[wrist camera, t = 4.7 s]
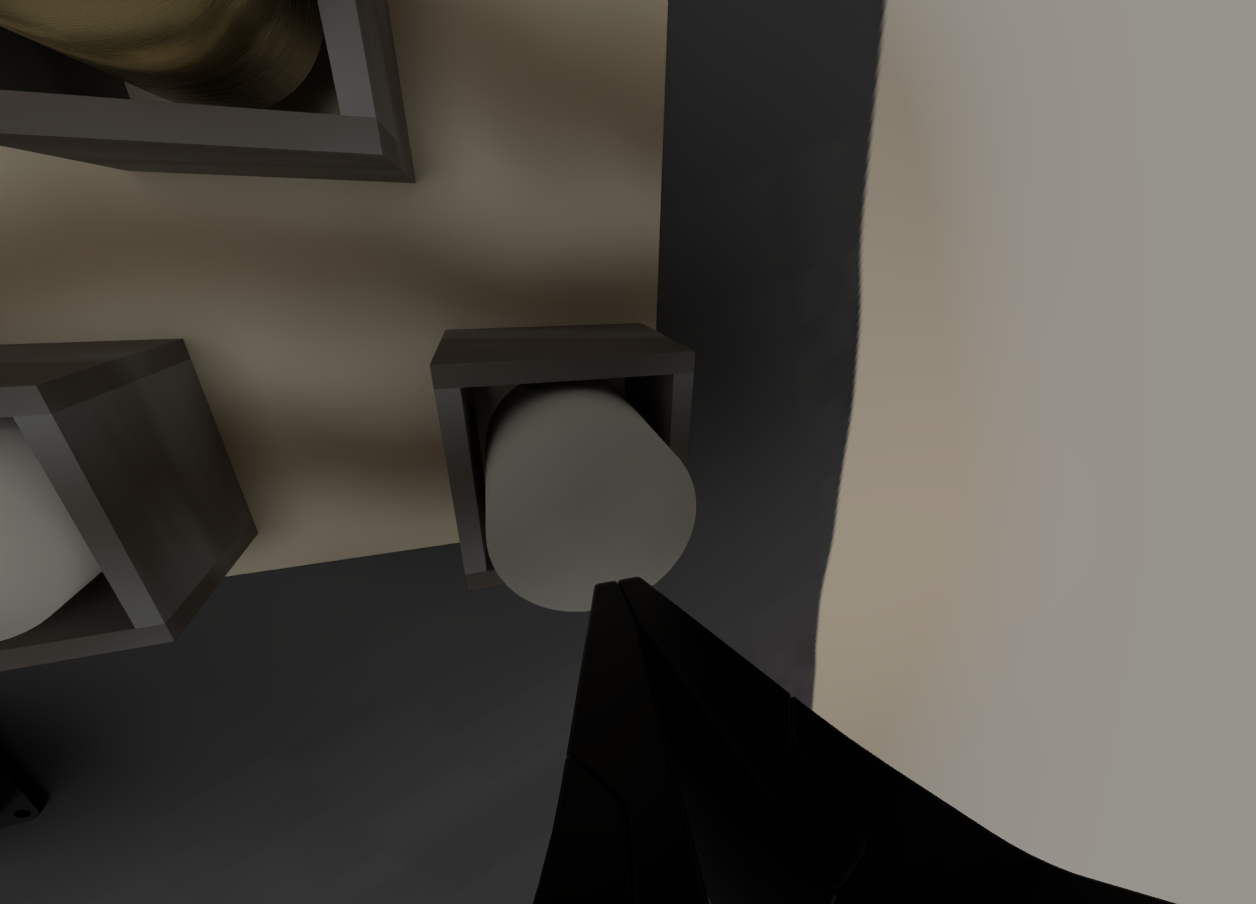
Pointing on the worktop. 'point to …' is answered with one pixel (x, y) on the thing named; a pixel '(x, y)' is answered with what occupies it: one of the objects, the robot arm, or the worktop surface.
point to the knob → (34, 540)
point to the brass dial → (182, 44)
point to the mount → (322, 291)
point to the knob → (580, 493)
